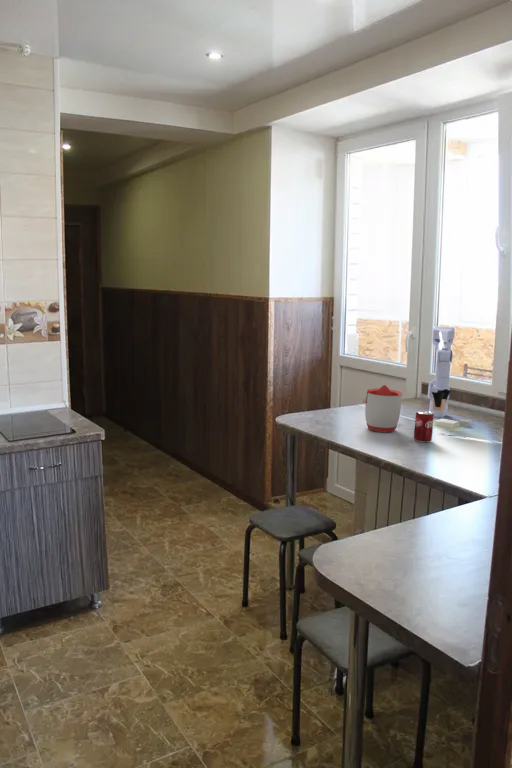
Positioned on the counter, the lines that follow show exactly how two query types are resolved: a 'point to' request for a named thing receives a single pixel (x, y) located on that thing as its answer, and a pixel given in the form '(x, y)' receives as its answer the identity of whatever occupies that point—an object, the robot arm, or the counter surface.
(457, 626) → the counter surface
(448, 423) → the cream square slab
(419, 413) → the soda can
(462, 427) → the baseplate
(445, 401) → the salmon pink block
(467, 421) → the grey brick
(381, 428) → the citrus juicer
